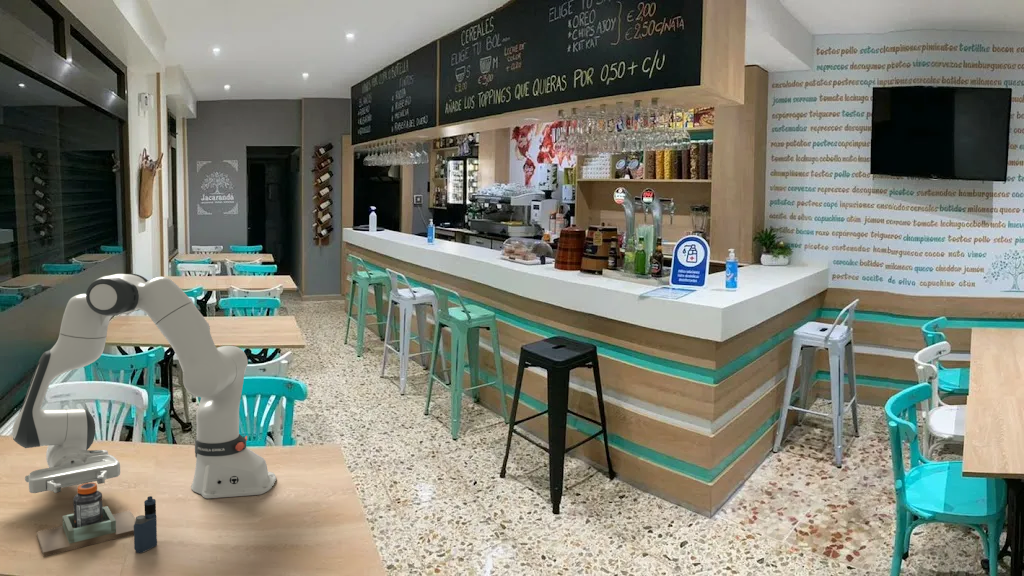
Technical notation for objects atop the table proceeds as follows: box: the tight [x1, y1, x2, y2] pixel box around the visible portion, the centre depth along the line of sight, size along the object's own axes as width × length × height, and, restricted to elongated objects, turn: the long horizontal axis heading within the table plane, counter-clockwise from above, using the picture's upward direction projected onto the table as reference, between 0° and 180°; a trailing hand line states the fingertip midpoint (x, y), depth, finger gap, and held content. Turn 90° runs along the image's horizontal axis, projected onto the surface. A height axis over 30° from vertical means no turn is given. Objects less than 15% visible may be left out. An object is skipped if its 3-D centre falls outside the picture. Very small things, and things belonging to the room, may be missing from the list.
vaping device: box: [133, 495, 158, 554], centre depth 162 cm, size 3×5×12 cm, turn 155°
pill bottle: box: [72, 482, 104, 528], centre depth 168 cm, size 6×6×11 cm
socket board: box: [36, 505, 136, 557], centre depth 168 cm, size 20×12×4 cm, turn 130°
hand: (80, 485), depth 176 cm, fingers open, 8 cm apart
